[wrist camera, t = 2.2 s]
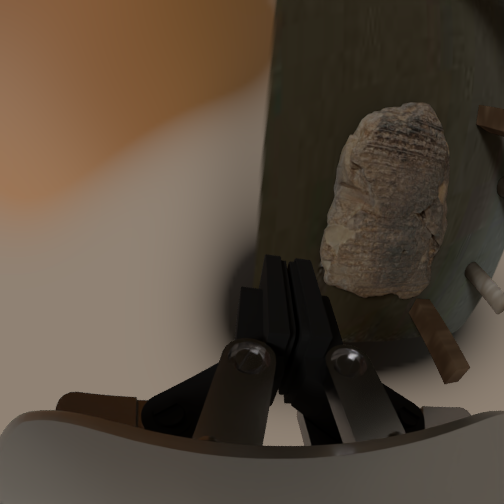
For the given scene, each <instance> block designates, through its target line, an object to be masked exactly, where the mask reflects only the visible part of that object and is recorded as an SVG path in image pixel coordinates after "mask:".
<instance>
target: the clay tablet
mask: <svg viewBox="0 0 504 504" xmlns="http://www.w3.org/2000/svg"><path fill="white" fill-rule="evenodd" d="M449 170H450V165H449V147H448V144H447V143H446V139H445V137H444V135H443V128H442V124H441V123H440V121H439V120H438V118H437V116H436V114H435V111H434V110H433V109H432V107H431V106H430V105H429V104H426V103H415V102H410V103H406V104H403V105H402V106H401V107H386V108H384V109H382V110H381V111H374V112H373V113H372V114H368V115H367V116H366V117H364V118H363V119H362V121H361V122H360V124H359V126H358V128H357V130H356V131H355V132H354V134H353V135H350V136H349V138H348V140H347V143H346V145H345V146H344V147H343V149H342V152H341V155H340V160H339V164H338V167H337V174H336V182H335V185H334V193H335V197H334V200H333V202H332V205H331V207H330V210H329V212H328V215H327V217H328V220H327V222H328V226H327V228H326V229H324V235H323V238H322V243H321V248H320V255H321V262H322V265H323V267H324V269H325V274H324V281H325V282H326V283H327V284H328V285H331V286H336V287H338V288H341V289H344V290H347V291H350V292H353V293H355V294H356V295H358V296H360V297H363V298H366V297H369V296H383V295H386V294H390V293H393V294H396V295H398V296H399V298H401V299H410V298H411V297H414V296H419V294H420V293H421V292H422V291H423V290H424V289H425V288H426V287H427V286H428V284H429V283H430V280H431V263H432V262H433V258H434V256H435V255H436V254H437V253H438V250H439V248H440V246H441V244H442V242H443V238H444V234H445V231H446V229H447V220H446V214H447V204H446V197H447V194H448V191H447V187H448V182H449Z"/></svg>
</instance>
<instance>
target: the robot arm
mask: <svg viewBox="0 0 504 504" xmlns="http://www.w3.org/2000/svg"><path fill="white" fill-rule="evenodd" d="M277 390H279V394H280V395H284V403H291V405H292V406H293V407H294V408H296V409H297V410H298V411H297V419H298V422H299V426H300V430H301V434H302V438H303V442H304V446H262V444H263V439H264V434H265V429H266V423H267V417H268V411H269V407H270V406H271V405H272V403H273V401H274V398H275V396H276V393H277ZM0 504H504V411H489V412H483V413H479V414H475V415H472V416H471V415H470V413H469V412H468V411H467V410H465V409H464V408H460V407H427V406H426V407H425V406H422V407H421V408H419V407H418V406H416V405H415V404H414V403H412V402H411V401H409V400H408V399H406V398H404V397H403V396H401V395H400V394H398V393H397V392H395V391H394V390H392V389H390V388H389V387H387V386H386V385H384V384H383V383H381V381H380V379H379V377H378V375H377V373H376V371H375V369H374V367H373V365H372V363H371V361H370V359H369V358H368V356H367V355H366V354H365V353H364V352H363V351H361V350H360V349H358V348H356V347H354V346H350V345H343V342H342V339H341V335H340V332H339V329H338V325H337V322H336V319H335V316H334V312H333V309H332V306H331V303H330V300H329V298H328V297H327V296H321V293H320V290H319V287H318V283H317V280H316V277H315V273H314V270H313V267H312V264H311V261H310V260H304V259H297V258H296V259H295V260H294V262H289V264H288V268H287V266H286V261H282V260H281V257H280V256H273V255H265V258H264V263H263V269H262V275H261V280H260V286H259V289H256V288H248V287H241V291H240V298H239V306H238V314H237V322H236V332H235V340H234V341H231V342H230V343H229V344H228V345H226V347H225V348H224V350H223V352H222V355H221V358H220V360H219V363H217V364H215V365H213V366H212V367H210V368H208V369H206V370H204V371H202V372H201V373H199V374H197V375H195V376H193V377H191V378H189V379H187V380H185V381H184V382H182V383H180V384H178V385H176V386H174V387H172V388H170V389H168V390H166V391H164V392H162V393H160V394H158V395H156V396H154V397H152V398H151V399H149V400H137V398H136V397H125V396H111V395H100V394H91V393H83V392H70V393H68V394H65V395H63V396H62V397H61V398H60V399H59V401H58V404H57V406H56V410H40V411H31V412H27V413H23V414H21V415H19V416H18V417H16V418H15V419H14V420H12V421H11V422H10V423H9V425H8V426H7V427H6V428H5V430H4V431H3V433H2V434H1V436H0Z"/></svg>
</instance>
